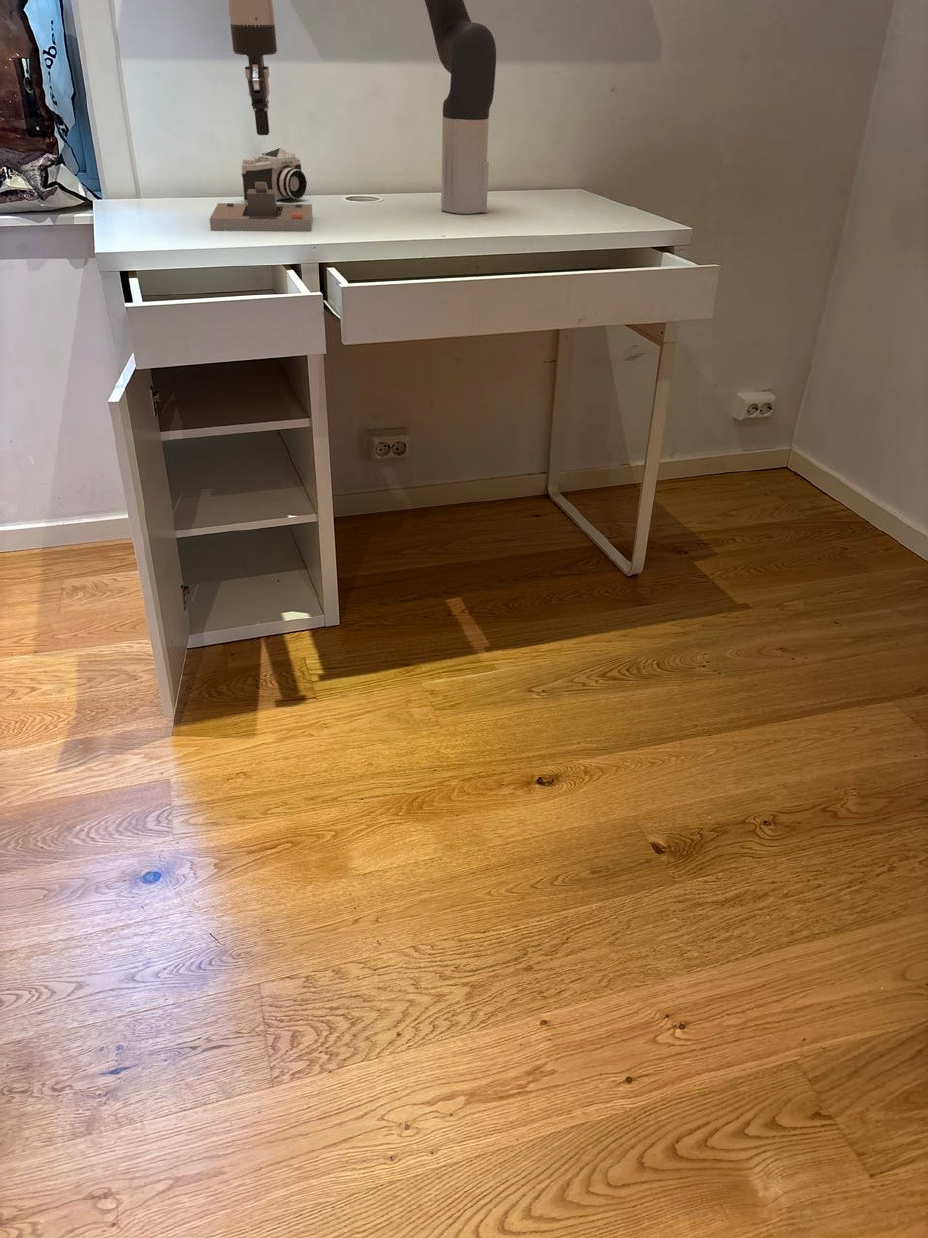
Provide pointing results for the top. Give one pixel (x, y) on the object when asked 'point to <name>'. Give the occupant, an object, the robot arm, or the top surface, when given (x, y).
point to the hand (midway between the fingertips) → (263, 134)
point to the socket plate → (261, 218)
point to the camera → (275, 174)
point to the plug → (261, 201)
